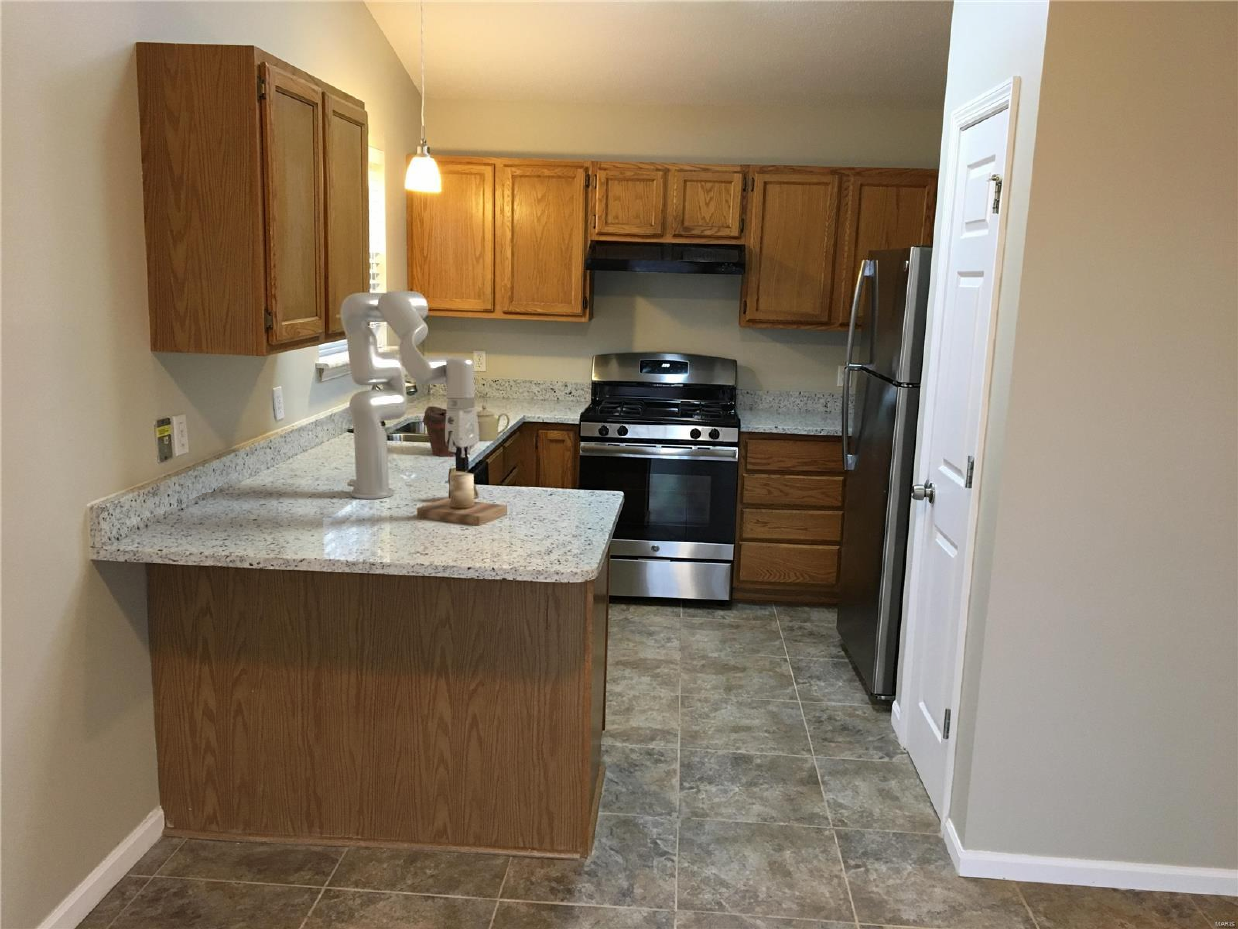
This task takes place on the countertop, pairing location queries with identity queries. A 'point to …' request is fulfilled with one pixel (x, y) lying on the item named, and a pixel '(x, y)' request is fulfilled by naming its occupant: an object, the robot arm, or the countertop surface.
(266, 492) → the countertop surface
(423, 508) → the board
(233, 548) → the countertop surface
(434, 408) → the brown tapered pot
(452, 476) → the peg
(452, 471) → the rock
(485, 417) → the sugar bowl
